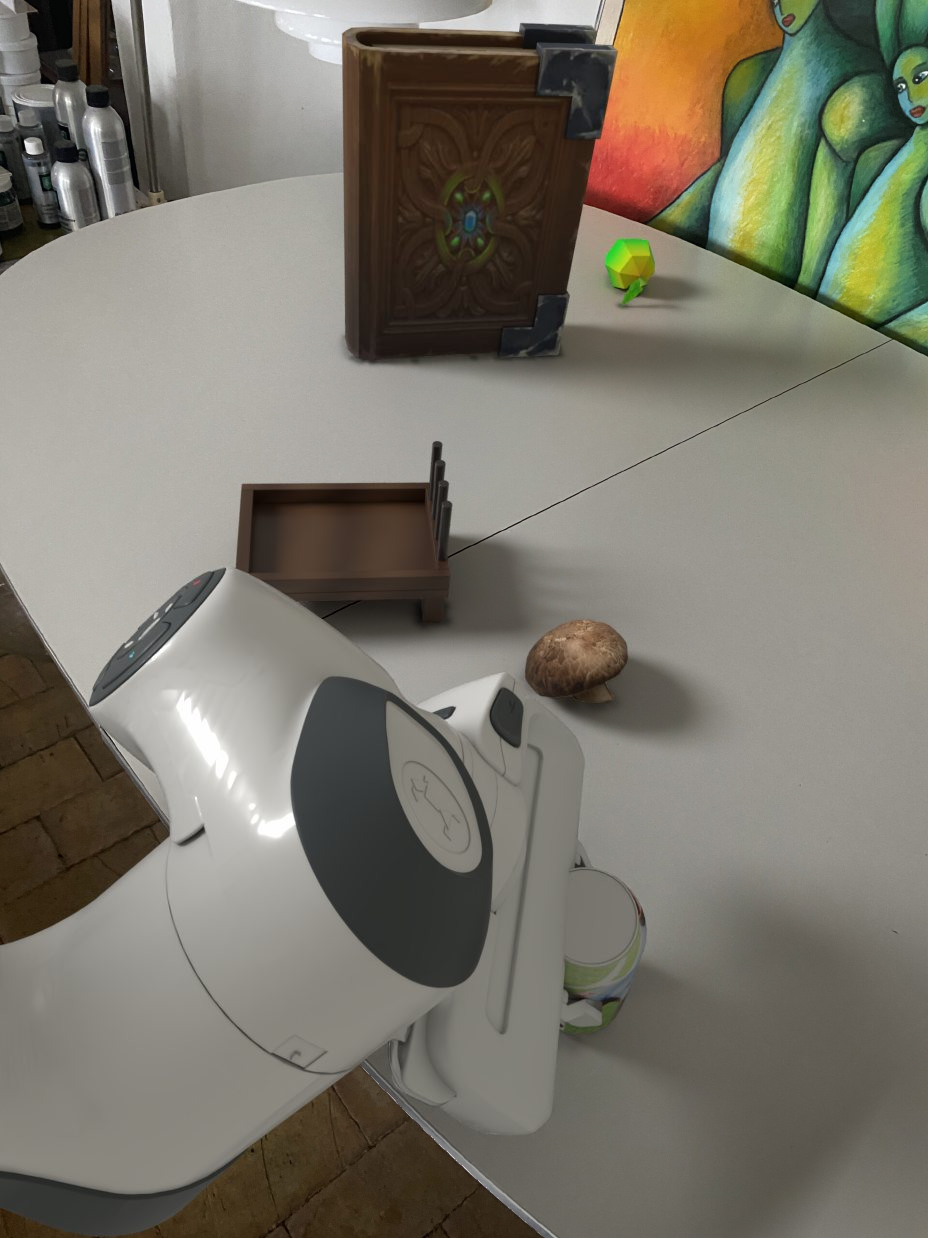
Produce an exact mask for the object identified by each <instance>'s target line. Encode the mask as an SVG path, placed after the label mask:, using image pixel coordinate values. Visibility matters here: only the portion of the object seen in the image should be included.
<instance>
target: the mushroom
mask: <svg viewBox="0 0 928 1238" xmlns="http://www.w3.org/2000/svg"><path fill="white" fill-rule="evenodd" d="M526 656H527V657H526V661H525V668H524V678H525V681H526V683H527V684H528V686H529V687H530V688H531V689H532V691H534V692H535V694H536V695H538V696H540V697H541V698H542V697H543V698H551V699H558V698H567V697H571V698H572V699H573V700H574V701H577V702H582V703H590V704H592V703H593V704H600V703H601V704H602V703H608V702H612V701H614V700H615V698H616V697H615V695H614V694H613V692H612V691H611V690H610V688H609V686H608V685H607V683H608V682H609V681H611V680H612V681H613V679H615V678H617V677H619V675H621V673H622V671H623V670H624V668H625V667H626V665H627V663H628V660H629V651H628V644H627V641H626V640H625V638H623V636H622V635H621V634H620V633H619V632H618V631H617V630H616V629H615V628H613V627H612V626H611V625H610V624H608V623H606V622H603V621H598V620H592V619H587V618H581V619H580V618H579V619H573V620H570V621H567V622H565V623H561V624H559V625H557V626H555V627H554V628H552V629H551V630H549V631H548V632H546V633H545V634H544V635H542V636H541V637H540V638H539V639H538V640H537V641H536V642H535V643H534V645H533V646H532V647H531V648H530V650H529V652H528V653H527V655H526Z"/></svg>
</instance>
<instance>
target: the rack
mask: <svg viewBox="0 0 928 1238" xmlns="http://www.w3.org/2000/svg"><path fill="white" fill-rule="evenodd" d="M443 446H444V445H443V442H441V441H439V440H435V441H433V442H432V445H431V457H430V467H429V469H430V470H429V481H427V482H421V481H420V482H289V483H287V482H282V483H280V482H277V483H275V482H274V483H272V482H271V483H269V482H267V483H241V484H240V485H241V486H240V488H241V489H240V499H239V513H238V514H239V515H238V529H237V539H236V540H237V542H236V556H235V568H236V569H238V570H241V571H243V572H246V573H248V574H250V575H252V576H254V577H256V578H258V579H260V580H261V581H263V582H265V583H267V584H268V585H270V586H272V587H274V588H275V589H277V590H279V591H280V592H282V593H284V594H285V595H287V596H288V597H290V598H292V599H293V600H295V601H296V602H298V603H300V602H303V603H304V602H305V603H306V602H340V601H377V600H378V601H379V600H380V601H382V600H413V599H414V600H417V599H418V600H419V599H421V607H420V609H421V617H422V622H423V623H434V622H436V623H437V622H443V619H444V613H445V612H444V611H445V605H446V604H445V603H446V599H448V598H449V593H450V586H451V585H450V584H451V577H452V576H451V570H450V569H451V568H450V563H449V556H448V549H449V543H450V542H449V541H450V533H451V522H452V513H453V502H451V501H450V500H448V499H449V491H450V489H449V488H450V482H449V481H448V480H446V479H445V477H446V476H445V475H446V461H445V460H444V459H442V458H443V457H442V455H443Z"/></svg>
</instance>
